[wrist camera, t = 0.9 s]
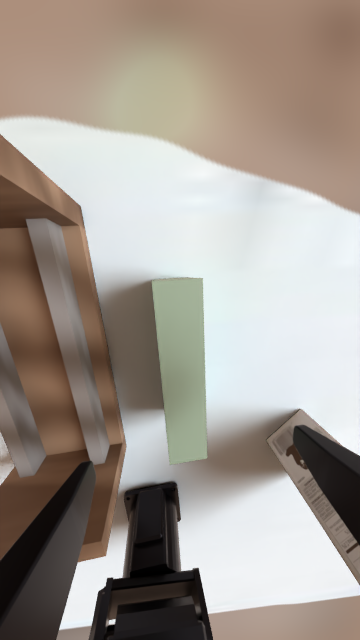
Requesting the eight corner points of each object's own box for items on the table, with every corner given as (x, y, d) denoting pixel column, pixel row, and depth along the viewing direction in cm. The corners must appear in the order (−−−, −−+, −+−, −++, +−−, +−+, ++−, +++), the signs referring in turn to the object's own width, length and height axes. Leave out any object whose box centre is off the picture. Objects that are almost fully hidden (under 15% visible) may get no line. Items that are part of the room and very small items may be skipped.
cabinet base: (126, 445, 20) (105, 556, 12) (31, 461, 19) (-59, 593, 11) (80, 206, 13) (-23, 113, 6) (-65, 210, 12) (-422, 106, 5)
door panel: (193, 404, 20) (207, 458, 14) (165, 408, 19) (169, 465, 13) (187, 277, 16) (203, 278, 10) (153, 279, 16) (150, 281, 10)
